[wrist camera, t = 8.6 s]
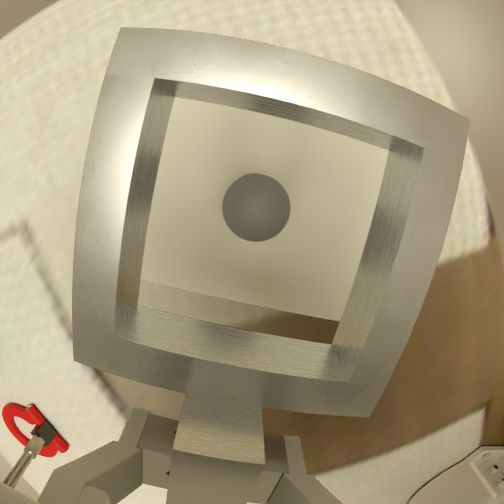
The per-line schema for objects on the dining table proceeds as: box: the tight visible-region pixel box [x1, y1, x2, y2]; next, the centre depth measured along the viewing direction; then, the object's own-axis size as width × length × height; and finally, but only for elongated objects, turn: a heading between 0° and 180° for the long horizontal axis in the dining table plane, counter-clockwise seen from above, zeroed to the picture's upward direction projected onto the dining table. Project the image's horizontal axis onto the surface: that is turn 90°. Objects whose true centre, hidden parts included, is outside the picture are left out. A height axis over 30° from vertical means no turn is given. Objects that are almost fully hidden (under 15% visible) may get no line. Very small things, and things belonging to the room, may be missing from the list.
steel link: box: [72, 27, 469, 504], centre depth 7 cm, size 12×8×4 cm
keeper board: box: [141, 97, 389, 321], centre depth 17 cm, size 20×14×9 cm
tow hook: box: [2, 404, 69, 489], centre depth 22 cm, size 8×13×9 cm
